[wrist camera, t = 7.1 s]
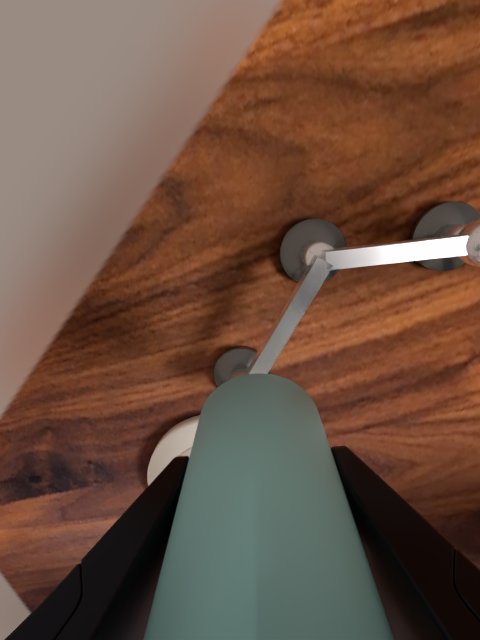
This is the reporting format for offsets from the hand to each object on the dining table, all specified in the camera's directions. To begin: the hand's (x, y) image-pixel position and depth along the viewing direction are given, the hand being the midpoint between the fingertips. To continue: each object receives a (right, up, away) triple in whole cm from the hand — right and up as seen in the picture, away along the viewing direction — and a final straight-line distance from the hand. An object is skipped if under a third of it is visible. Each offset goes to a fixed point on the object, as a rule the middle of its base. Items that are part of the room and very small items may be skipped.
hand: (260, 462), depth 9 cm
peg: (0, +1, +1) cm, 2 cm away
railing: (+4, +5, +7) cm, 9 cm away
